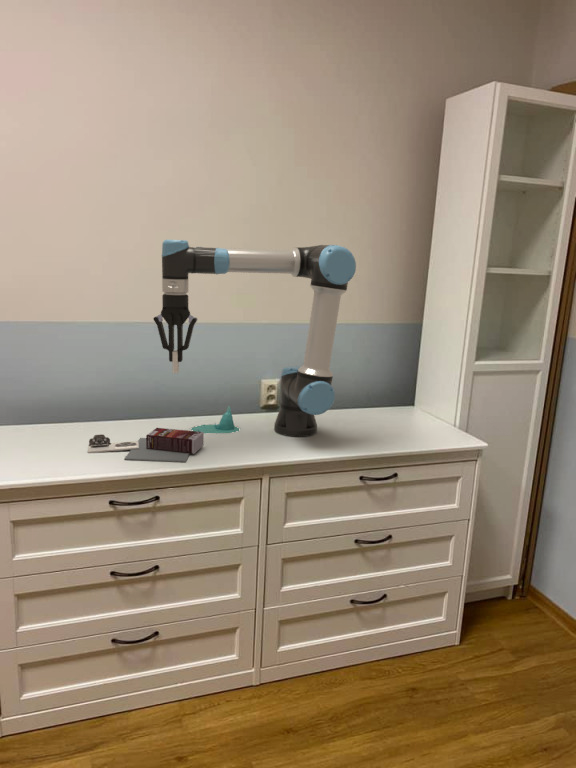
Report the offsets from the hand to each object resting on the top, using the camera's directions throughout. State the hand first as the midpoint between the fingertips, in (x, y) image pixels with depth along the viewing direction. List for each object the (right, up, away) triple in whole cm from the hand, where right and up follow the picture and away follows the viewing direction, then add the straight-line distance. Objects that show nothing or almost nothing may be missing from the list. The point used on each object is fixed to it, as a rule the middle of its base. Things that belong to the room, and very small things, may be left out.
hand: (175, 372), depth 183 cm
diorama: (+8, -20, +30) cm, 37 cm away
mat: (-5, -24, +5) cm, 25 cm away
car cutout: (-20, -23, +5) cm, 31 cm away
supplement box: (+7, -22, +5) cm, 23 cm away
